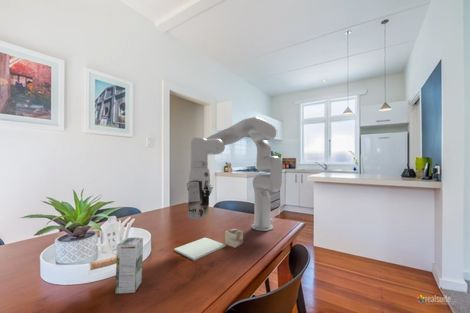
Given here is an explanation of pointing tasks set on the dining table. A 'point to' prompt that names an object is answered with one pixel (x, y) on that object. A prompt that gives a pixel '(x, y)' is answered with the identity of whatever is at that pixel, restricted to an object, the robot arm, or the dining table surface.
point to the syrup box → (129, 265)
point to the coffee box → (196, 201)
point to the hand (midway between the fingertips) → (198, 203)
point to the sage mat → (199, 248)
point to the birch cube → (234, 237)
